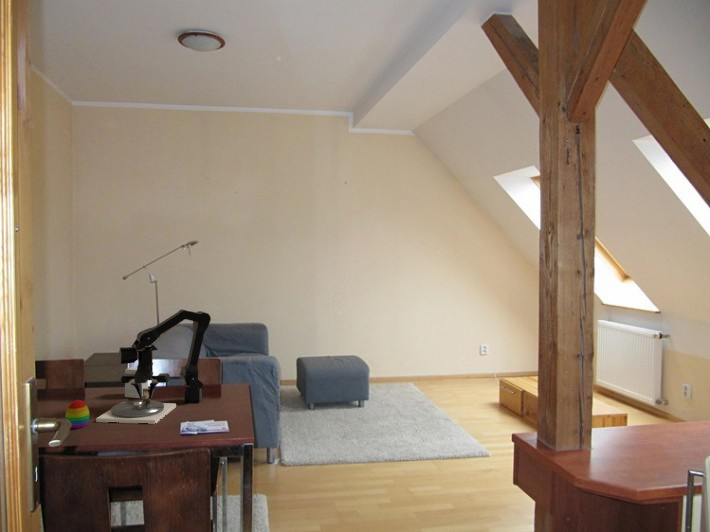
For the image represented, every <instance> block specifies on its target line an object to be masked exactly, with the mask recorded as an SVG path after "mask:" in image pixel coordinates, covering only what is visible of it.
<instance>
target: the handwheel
mask: <svg viewBox="0 0 710 532" xmlns="http://www.w3.org/2000/svg"><path fill="white" fill-rule="evenodd" d="M123 402H124V403H121V402H120V403H117V404H115V405H113V406H112V407H111V408H110V409H111V413H112V414H113V415H115V416H119V417H143V416H149V415H153V414H156V413H159V412H161V411H163V409H164V404H163V403H164V402H161V401H159V400H152V399H150V387H148V388H144V389H143V396H142V399H138V400H137V399H136V400H130V401H123Z"/></svg>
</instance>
